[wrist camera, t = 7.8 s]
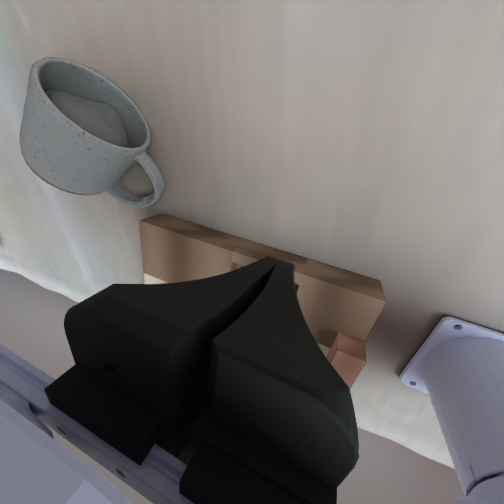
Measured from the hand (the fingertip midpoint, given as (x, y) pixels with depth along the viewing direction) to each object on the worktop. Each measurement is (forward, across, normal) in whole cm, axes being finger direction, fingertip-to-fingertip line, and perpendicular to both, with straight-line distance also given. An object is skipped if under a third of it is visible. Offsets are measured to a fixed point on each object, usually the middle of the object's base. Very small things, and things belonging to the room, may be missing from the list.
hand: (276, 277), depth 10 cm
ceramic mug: (+10, +19, -3) cm, 21 cm away
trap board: (+9, +4, +12) cm, 16 cm away
